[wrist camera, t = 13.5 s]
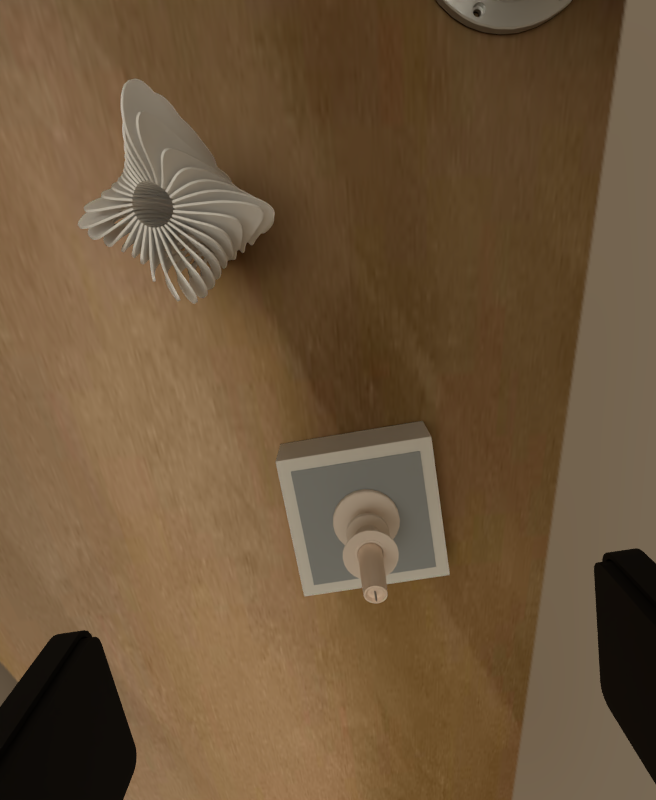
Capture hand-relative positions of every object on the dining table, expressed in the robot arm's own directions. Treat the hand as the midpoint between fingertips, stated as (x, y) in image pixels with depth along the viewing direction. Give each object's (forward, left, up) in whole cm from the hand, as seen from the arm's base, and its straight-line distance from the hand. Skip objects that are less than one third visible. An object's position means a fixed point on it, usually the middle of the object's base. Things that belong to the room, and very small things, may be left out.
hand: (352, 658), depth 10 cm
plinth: (0, +13, -34) cm, 37 cm away
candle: (0, +13, -30) cm, 33 cm away
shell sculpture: (+7, -11, -34) cm, 37 cm away
